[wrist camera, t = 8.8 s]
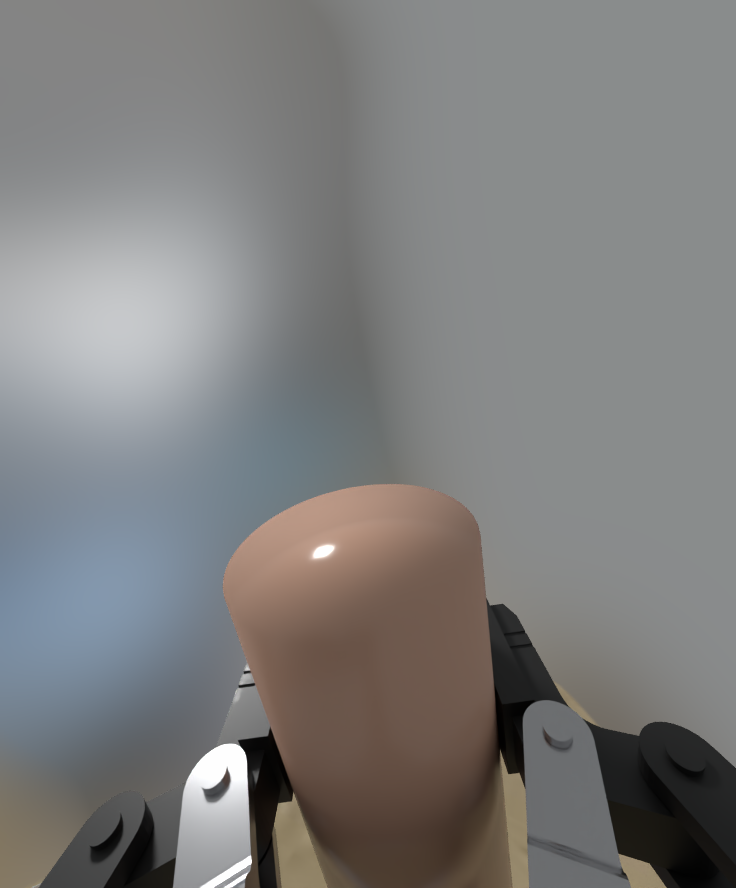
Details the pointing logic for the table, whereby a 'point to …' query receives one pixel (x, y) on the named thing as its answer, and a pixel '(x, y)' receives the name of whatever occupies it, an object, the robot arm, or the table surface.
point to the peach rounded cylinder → (379, 683)
